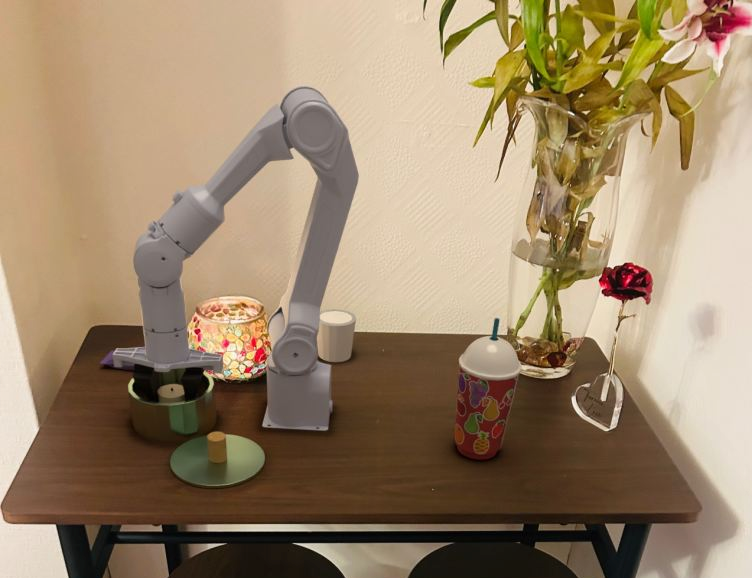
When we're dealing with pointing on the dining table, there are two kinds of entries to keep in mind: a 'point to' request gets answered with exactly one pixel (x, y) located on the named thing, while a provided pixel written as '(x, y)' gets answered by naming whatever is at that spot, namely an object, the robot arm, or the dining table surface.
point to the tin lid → (217, 461)
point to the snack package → (109, 361)
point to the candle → (171, 393)
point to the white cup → (335, 335)
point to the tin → (173, 411)
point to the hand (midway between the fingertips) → (174, 412)
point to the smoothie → (485, 395)
